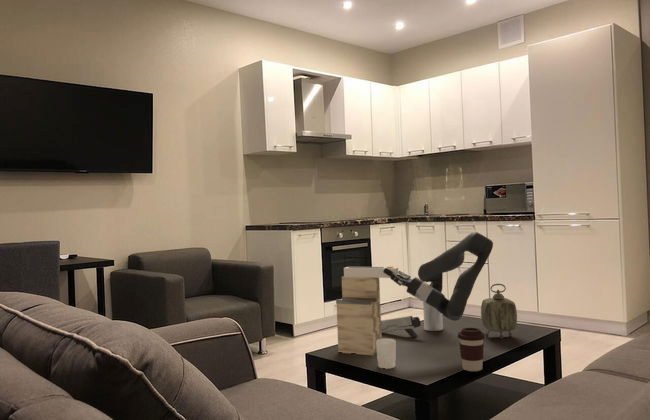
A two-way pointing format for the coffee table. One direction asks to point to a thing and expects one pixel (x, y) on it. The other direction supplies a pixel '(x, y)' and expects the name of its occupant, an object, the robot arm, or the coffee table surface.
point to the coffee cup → (471, 348)
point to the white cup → (386, 353)
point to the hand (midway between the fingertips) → (386, 269)
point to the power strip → (368, 272)
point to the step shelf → (359, 315)
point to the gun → (401, 325)
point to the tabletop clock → (498, 313)
